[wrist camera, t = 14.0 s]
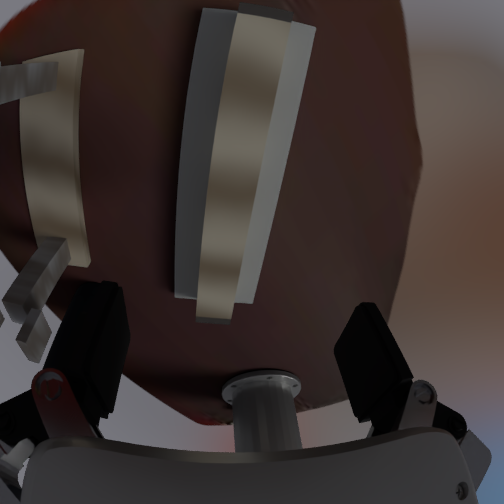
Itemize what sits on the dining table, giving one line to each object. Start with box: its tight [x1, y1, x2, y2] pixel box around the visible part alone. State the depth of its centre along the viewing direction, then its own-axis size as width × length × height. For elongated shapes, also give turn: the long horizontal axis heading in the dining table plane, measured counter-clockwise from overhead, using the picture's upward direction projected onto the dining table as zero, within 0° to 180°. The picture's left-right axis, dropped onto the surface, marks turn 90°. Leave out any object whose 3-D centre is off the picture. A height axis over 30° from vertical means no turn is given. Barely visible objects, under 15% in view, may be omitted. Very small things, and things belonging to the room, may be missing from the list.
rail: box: [196, 2, 294, 325], centre depth 20 cm, size 26×3×3 cm, turn 170°
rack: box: [0, 49, 91, 363], centre depth 14 cm, size 20×6×13 cm, turn 170°
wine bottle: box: [42, 283, 126, 426], centre depth 16 cm, size 6×6×30 cm
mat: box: [175, 8, 316, 304], centre depth 21 cm, size 26×8×1 cm, turn 170°
